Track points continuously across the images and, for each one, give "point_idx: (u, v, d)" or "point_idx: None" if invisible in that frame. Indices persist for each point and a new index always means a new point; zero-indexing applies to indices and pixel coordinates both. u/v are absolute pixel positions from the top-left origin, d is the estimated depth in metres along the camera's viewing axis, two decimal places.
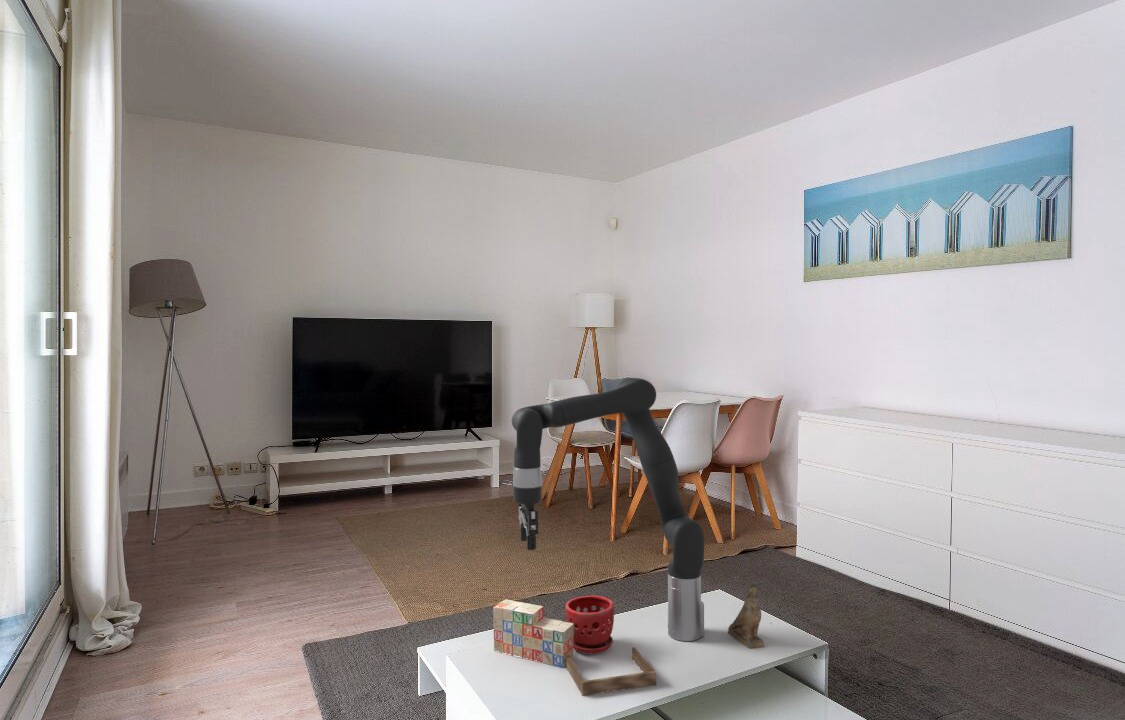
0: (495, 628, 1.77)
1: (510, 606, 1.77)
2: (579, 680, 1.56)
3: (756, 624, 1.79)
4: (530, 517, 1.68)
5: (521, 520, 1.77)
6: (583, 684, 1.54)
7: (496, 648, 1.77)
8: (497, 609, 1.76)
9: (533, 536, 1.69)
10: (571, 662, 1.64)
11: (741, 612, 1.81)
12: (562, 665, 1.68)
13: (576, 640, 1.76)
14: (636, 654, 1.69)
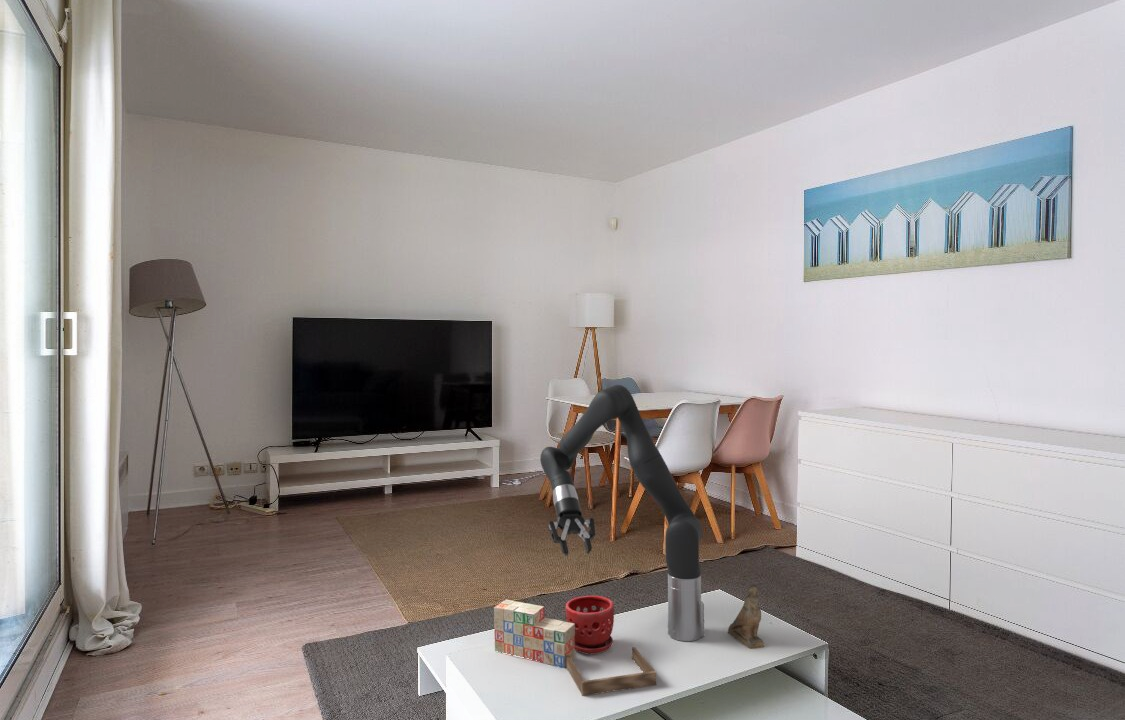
0: (496, 628, 1.77)
1: (511, 606, 1.77)
2: (579, 680, 1.56)
3: (756, 624, 1.79)
4: (549, 529, 1.95)
5: (580, 535, 1.95)
6: (583, 684, 1.54)
7: (497, 648, 1.77)
8: (498, 609, 1.76)
9: (560, 542, 1.91)
10: (571, 662, 1.64)
11: (741, 612, 1.81)
12: (563, 665, 1.68)
13: (576, 640, 1.76)
14: (636, 654, 1.69)
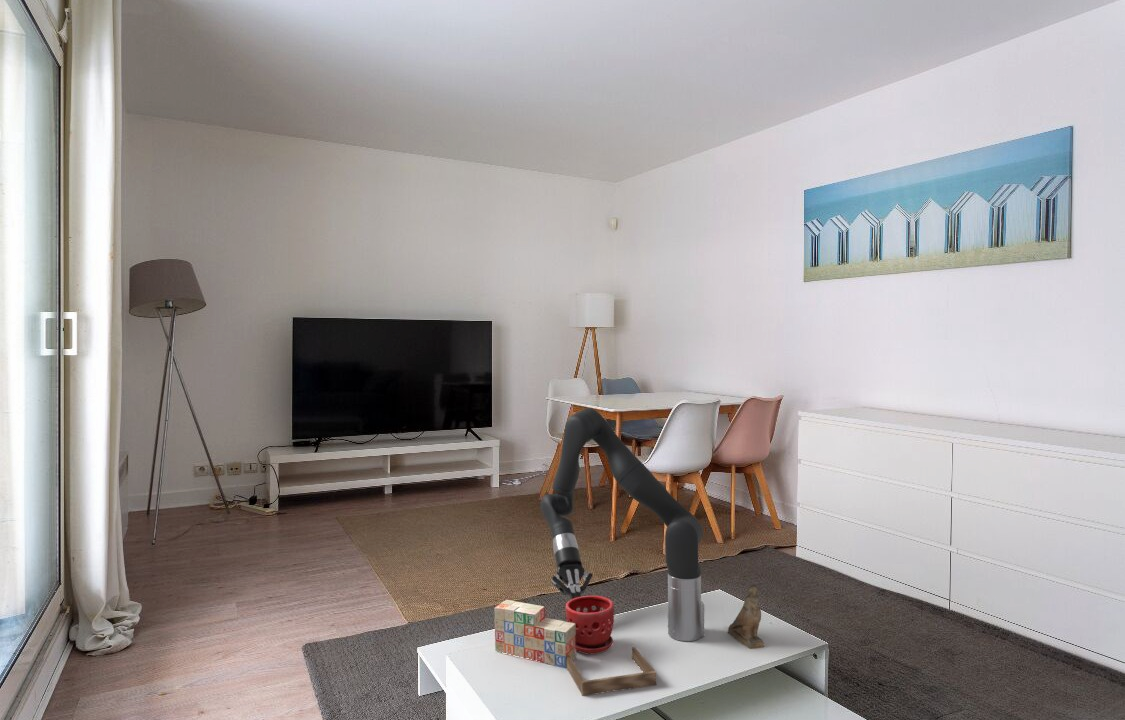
0: (496, 629, 1.77)
1: (512, 607, 1.76)
2: (579, 680, 1.56)
3: (756, 624, 1.79)
4: (554, 584, 1.94)
5: (573, 586, 1.95)
6: (583, 684, 1.54)
7: (497, 649, 1.77)
8: (498, 610, 1.76)
9: (570, 594, 1.92)
10: (571, 662, 1.64)
11: (741, 612, 1.81)
12: (564, 665, 1.68)
13: (576, 640, 1.76)
14: (636, 654, 1.69)
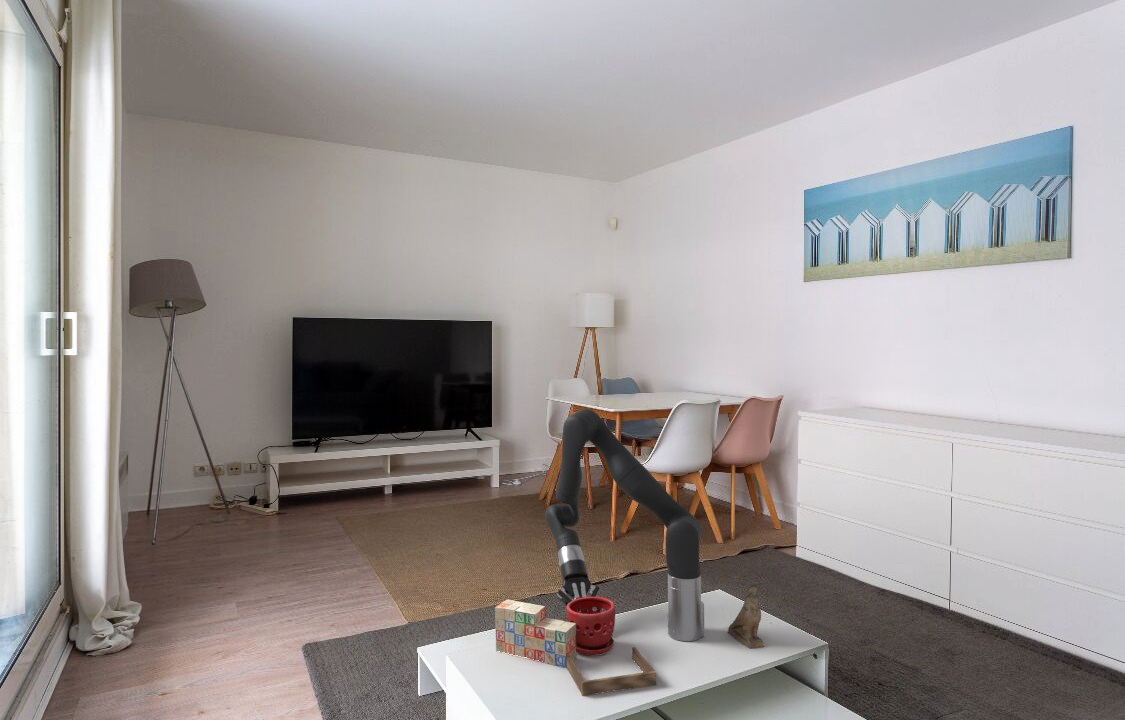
0: (497, 628, 1.77)
1: (512, 606, 1.77)
2: (579, 680, 1.56)
3: (756, 624, 1.79)
4: (559, 598, 1.89)
5: None
6: (583, 684, 1.54)
7: (498, 648, 1.77)
8: (499, 609, 1.76)
9: None
10: (571, 662, 1.64)
11: (741, 612, 1.81)
12: (564, 665, 1.68)
13: (577, 642, 1.75)
14: (636, 654, 1.69)
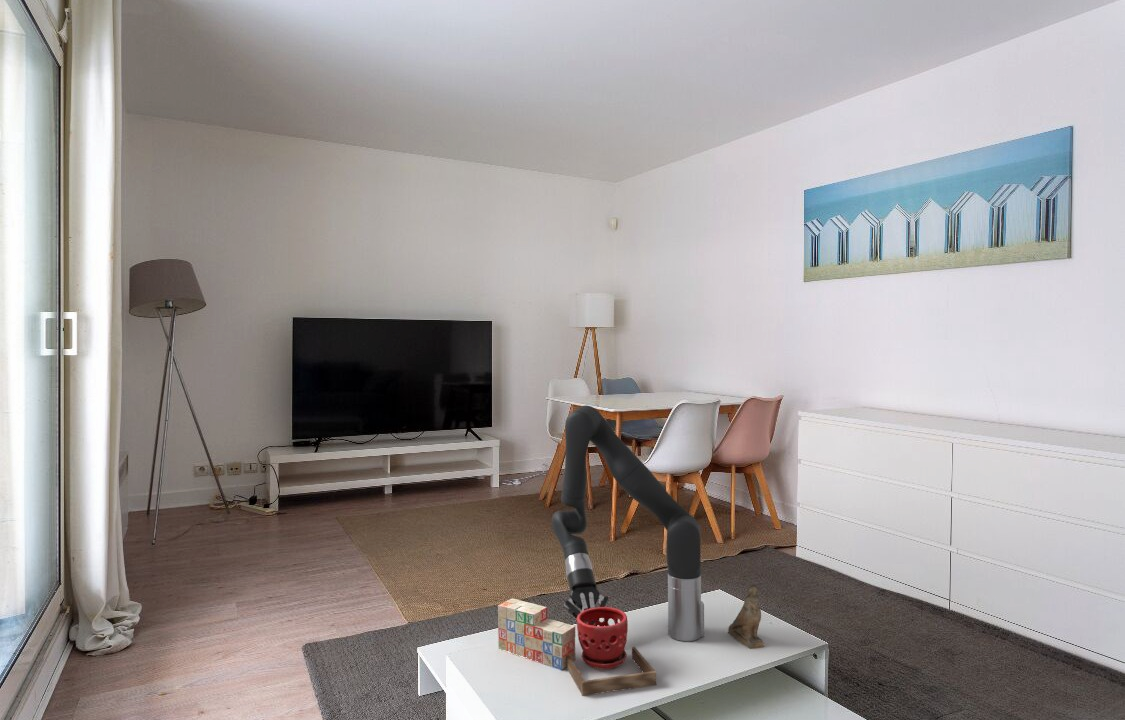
0: (499, 626, 1.78)
1: (514, 605, 1.77)
2: (579, 680, 1.56)
3: (756, 624, 1.79)
4: (567, 609, 1.81)
5: None
6: (583, 684, 1.54)
7: (500, 646, 1.78)
8: (501, 607, 1.78)
9: None
10: (571, 662, 1.64)
11: (741, 612, 1.81)
12: (561, 667, 1.66)
13: (591, 656, 1.66)
14: (636, 654, 1.69)
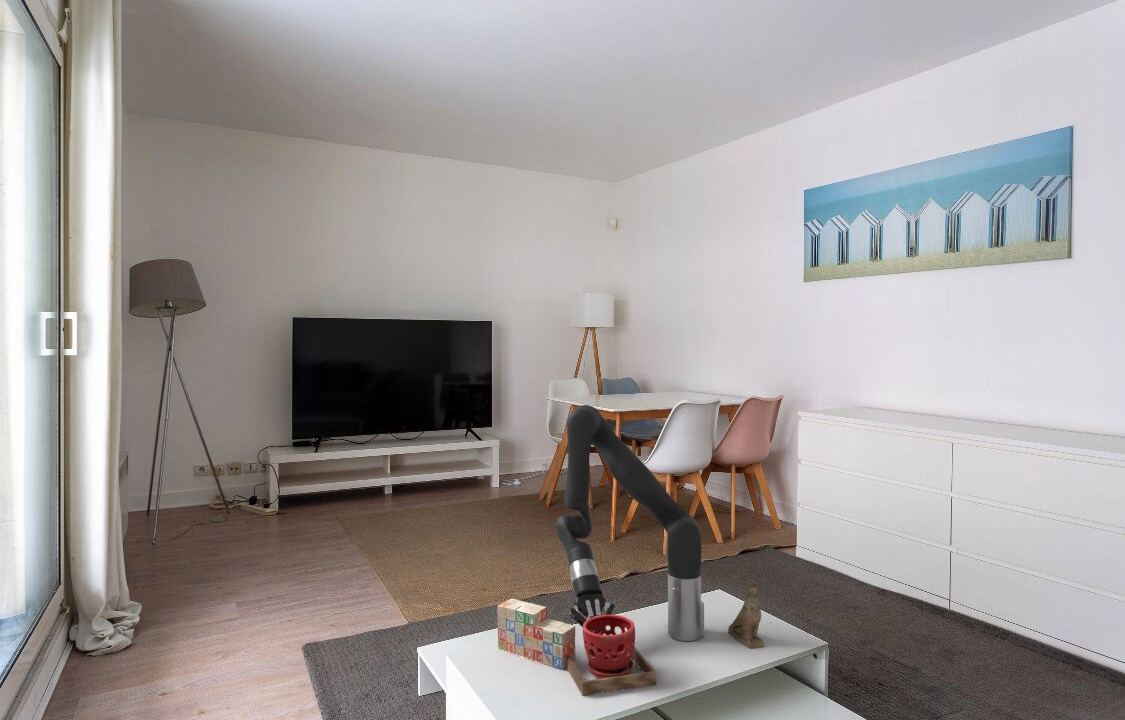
0: (499, 627, 1.78)
1: (514, 606, 1.77)
2: (579, 680, 1.56)
3: (756, 624, 1.79)
4: (572, 616, 1.76)
5: None
6: (583, 684, 1.54)
7: (500, 647, 1.78)
8: (501, 608, 1.77)
9: None
10: (571, 662, 1.64)
11: (741, 612, 1.81)
12: (561, 667, 1.67)
13: (598, 666, 1.61)
14: (636, 654, 1.69)
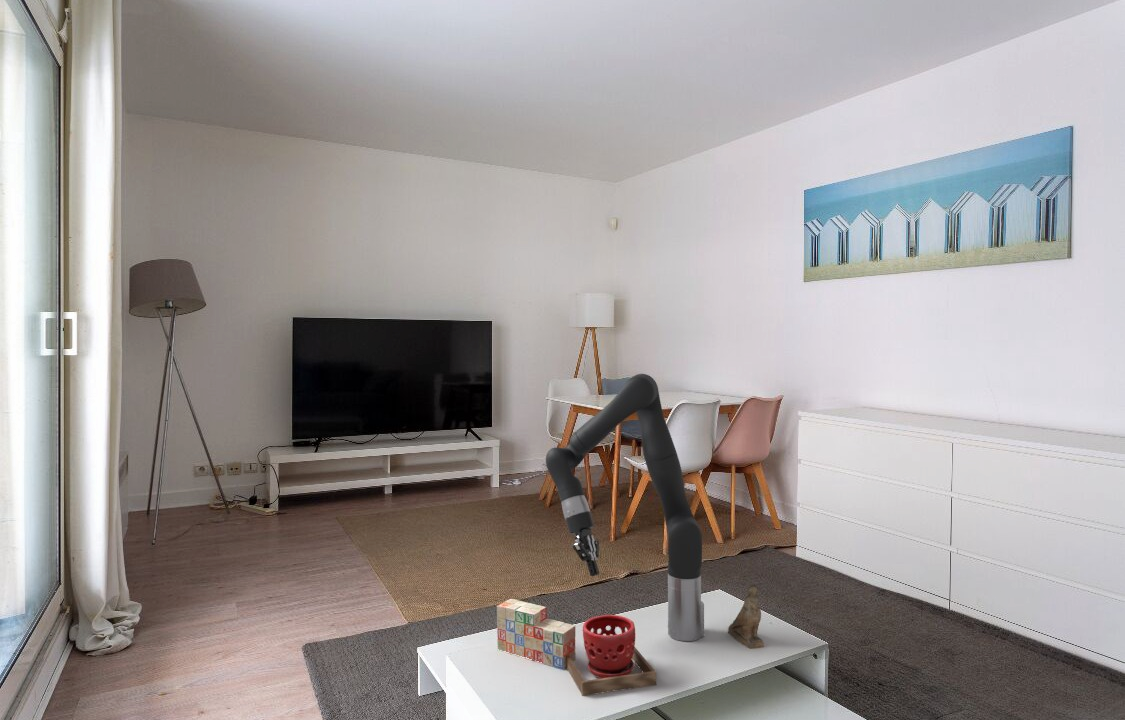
0: (499, 627, 1.78)
1: (514, 606, 1.77)
2: (579, 680, 1.56)
3: (756, 624, 1.79)
4: (576, 549, 1.81)
5: None
6: (583, 684, 1.54)
7: (499, 647, 1.78)
8: (500, 608, 1.77)
9: (589, 562, 1.82)
10: (571, 662, 1.64)
11: (741, 612, 1.81)
12: (562, 667, 1.67)
13: (598, 666, 1.61)
14: (636, 654, 1.69)
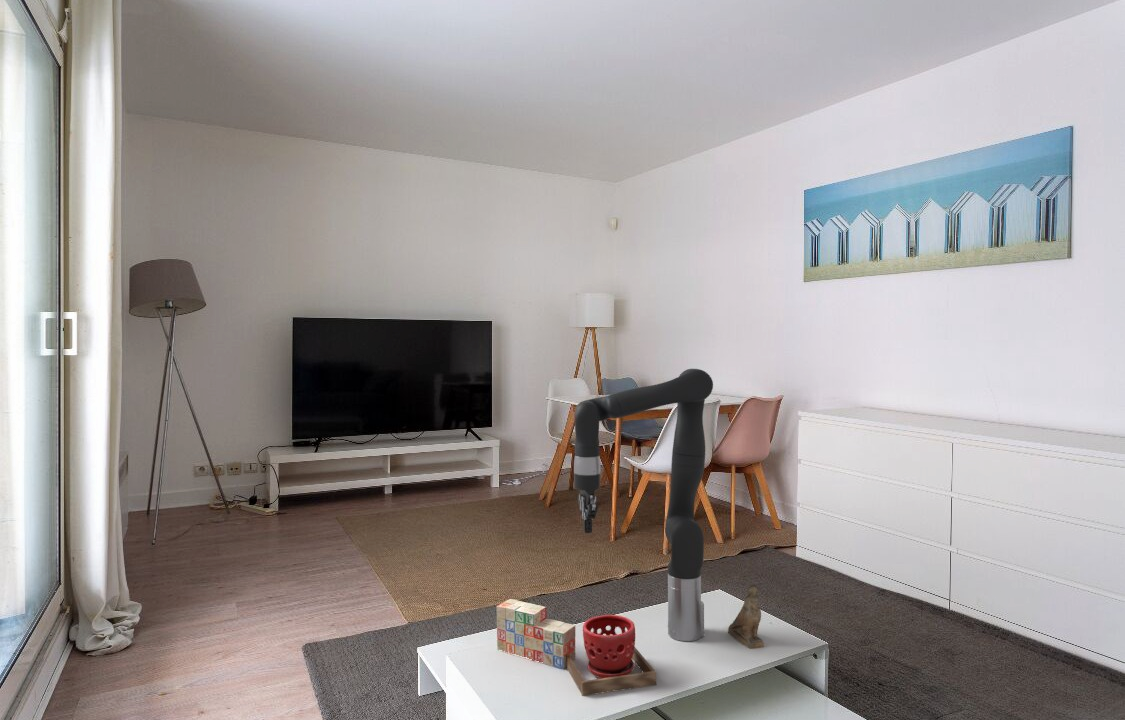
0: (498, 627, 1.78)
1: (513, 606, 1.77)
2: (579, 680, 1.56)
3: (756, 624, 1.79)
4: (590, 509, 1.82)
5: None
6: (583, 684, 1.54)
7: (499, 647, 1.78)
8: (500, 608, 1.77)
9: (590, 520, 1.86)
10: (571, 662, 1.64)
11: (741, 612, 1.81)
12: (562, 667, 1.67)
13: (598, 666, 1.61)
14: (636, 654, 1.69)
